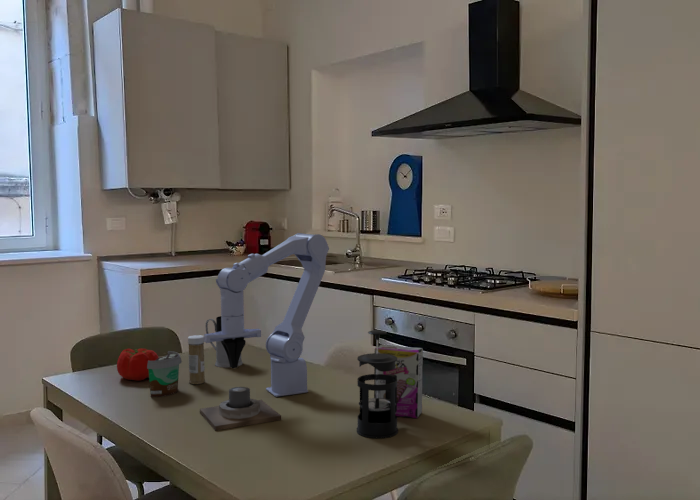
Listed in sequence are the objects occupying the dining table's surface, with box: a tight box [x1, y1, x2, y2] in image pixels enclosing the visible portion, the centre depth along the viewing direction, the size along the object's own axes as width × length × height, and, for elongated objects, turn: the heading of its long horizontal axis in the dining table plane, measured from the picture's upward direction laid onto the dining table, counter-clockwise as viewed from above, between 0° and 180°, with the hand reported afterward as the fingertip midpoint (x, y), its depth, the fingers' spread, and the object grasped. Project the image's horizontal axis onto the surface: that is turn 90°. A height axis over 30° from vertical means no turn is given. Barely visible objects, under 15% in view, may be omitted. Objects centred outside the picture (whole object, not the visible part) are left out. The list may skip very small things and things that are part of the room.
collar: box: [199, 398, 282, 431], centre depth 159 cm, size 16×14×3 cm
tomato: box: [116, 347, 160, 382], centre depth 194 cm, size 13×12×8 cm
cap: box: [228, 386, 251, 408], centre depth 159 cm, size 5×5×6 cm
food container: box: [147, 350, 183, 398], centre depth 179 cm, size 12×6×10 cm, turn 168°
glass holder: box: [205, 315, 244, 368], centre depth 211 cm, size 9×14×15 cm, turn 57°
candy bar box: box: [373, 344, 424, 419], centre depth 160 cm, size 11×5×16 cm, turn 71°
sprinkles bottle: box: [187, 334, 206, 385], centre depth 188 cm, size 5×5×14 cm
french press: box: [356, 329, 399, 439], centre depth 148 cm, size 12×9×23 cm
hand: (233, 367), depth 169 cm, fingers closed
